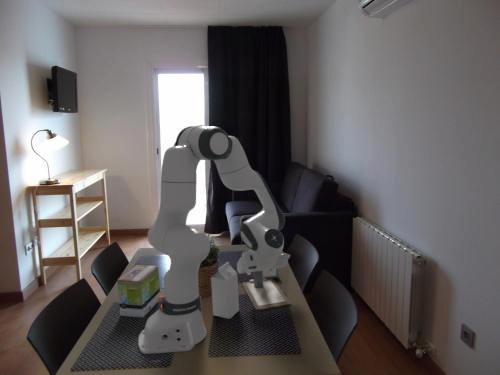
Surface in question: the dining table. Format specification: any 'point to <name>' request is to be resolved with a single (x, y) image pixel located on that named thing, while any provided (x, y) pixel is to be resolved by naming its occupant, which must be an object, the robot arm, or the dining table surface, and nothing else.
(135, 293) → the tea box
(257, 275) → the microphone
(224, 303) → the milk carton
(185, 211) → the robot arm
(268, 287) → the clipboard
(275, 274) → the picture frame
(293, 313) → the dining table surface
